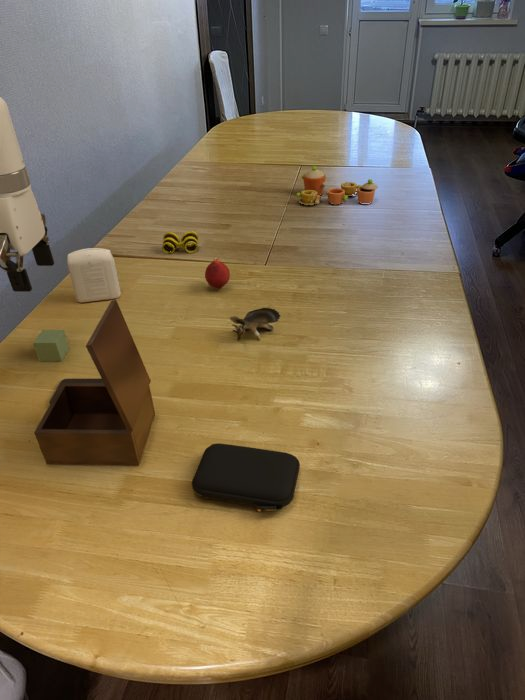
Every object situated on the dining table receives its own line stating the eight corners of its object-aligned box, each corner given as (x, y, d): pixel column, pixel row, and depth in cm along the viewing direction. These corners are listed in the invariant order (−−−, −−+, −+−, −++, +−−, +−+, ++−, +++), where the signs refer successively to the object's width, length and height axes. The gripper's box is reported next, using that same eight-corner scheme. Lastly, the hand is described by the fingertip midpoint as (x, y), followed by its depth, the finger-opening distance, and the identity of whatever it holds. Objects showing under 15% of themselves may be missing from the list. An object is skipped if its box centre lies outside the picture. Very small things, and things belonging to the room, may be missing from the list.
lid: (85, 345, 66) (91, 345, 66) (111, 300, 76) (116, 299, 76) (127, 431, 75) (133, 431, 75) (146, 381, 84) (151, 380, 84)
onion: (225, 296, 121) (222, 265, 116) (202, 292, 123) (199, 262, 118) (234, 284, 125) (232, 254, 121) (212, 281, 127) (209, 251, 122)
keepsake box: (46, 464, 80) (33, 432, 76) (72, 413, 89) (62, 382, 85) (139, 465, 79) (131, 433, 75) (155, 414, 89) (149, 383, 85)
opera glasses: (163, 257, 141) (160, 241, 138) (165, 245, 145) (162, 230, 141) (198, 255, 142) (196, 240, 138) (199, 244, 145) (197, 229, 141)
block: (39, 361, 102) (33, 342, 100) (48, 348, 106) (42, 330, 103) (61, 361, 102) (55, 342, 99) (69, 348, 106) (64, 329, 103)
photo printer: (121, 290, 125) (111, 242, 118) (121, 299, 122) (110, 250, 114) (77, 296, 123) (64, 248, 116) (76, 305, 120) (62, 256, 113)
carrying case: (186, 505, 73) (289, 522, 70) (183, 491, 71) (289, 508, 68) (208, 450, 81) (301, 463, 78) (207, 436, 79) (301, 449, 77)
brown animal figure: (253, 348, 101) (287, 325, 105) (235, 317, 100) (270, 294, 103) (238, 350, 108) (270, 327, 112) (221, 320, 107) (254, 299, 110)
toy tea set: (295, 207, 167) (295, 177, 161) (297, 191, 179) (297, 163, 174) (377, 207, 164) (380, 176, 159) (373, 191, 177) (375, 162, 171)
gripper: (6, 165, 90) (34, 256, 100) (-49, 200, 76) (-9, 301, 86) (48, 165, 89) (72, 256, 99) (1, 199, 75) (35, 301, 85)
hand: (35, 277), depth 92 cm, fingers open, 9 cm apart
